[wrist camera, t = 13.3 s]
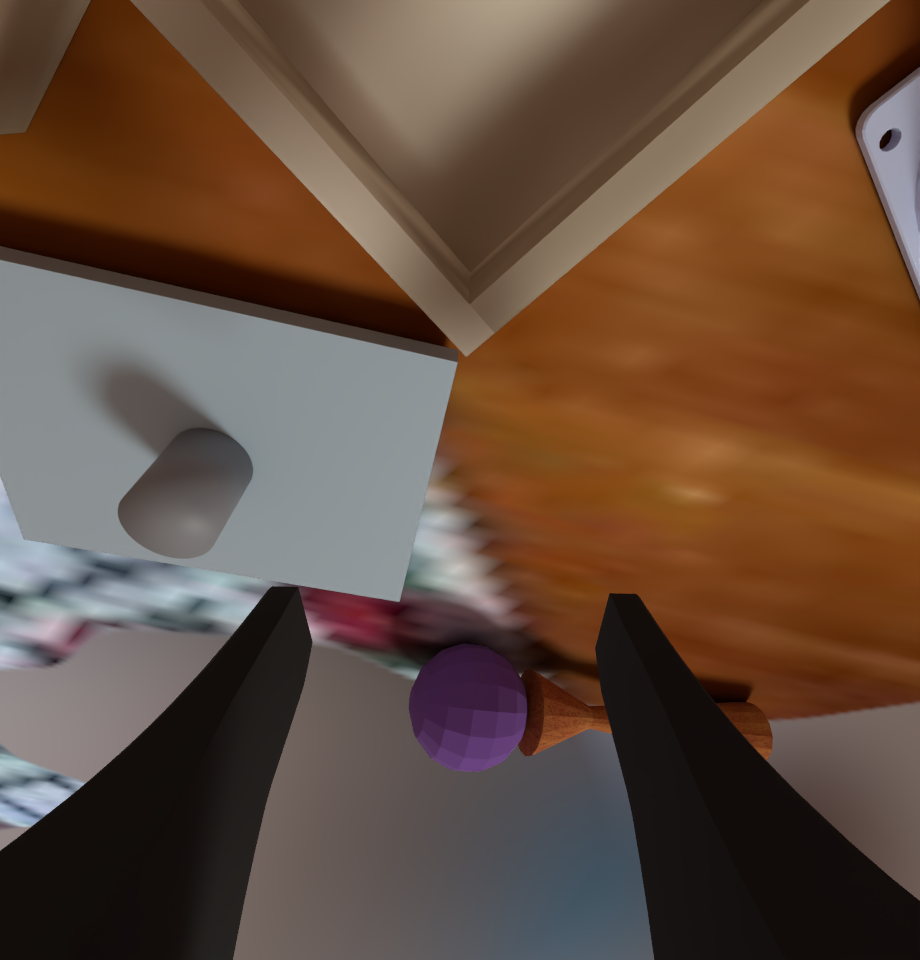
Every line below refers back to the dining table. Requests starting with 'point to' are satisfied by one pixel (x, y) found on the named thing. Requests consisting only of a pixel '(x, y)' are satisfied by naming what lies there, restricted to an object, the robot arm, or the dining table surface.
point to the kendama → (514, 711)
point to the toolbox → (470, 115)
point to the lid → (213, 428)
